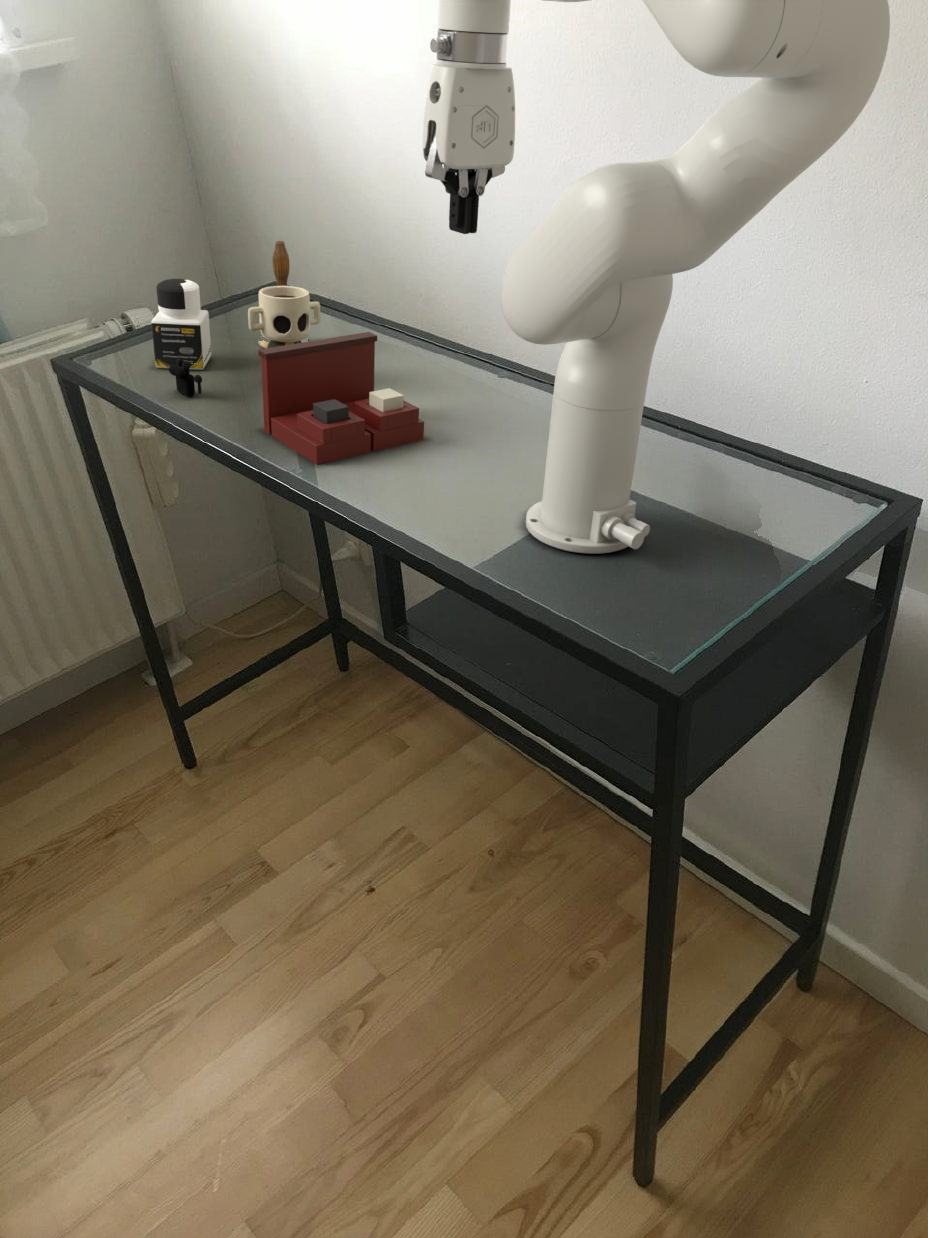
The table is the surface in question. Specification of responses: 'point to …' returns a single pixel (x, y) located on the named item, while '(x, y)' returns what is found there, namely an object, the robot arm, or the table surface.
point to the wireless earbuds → (185, 378)
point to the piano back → (316, 374)
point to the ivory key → (386, 400)
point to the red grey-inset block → (322, 436)
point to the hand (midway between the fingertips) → (462, 230)
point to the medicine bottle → (180, 325)
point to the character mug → (284, 315)
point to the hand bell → (279, 270)
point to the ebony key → (330, 411)
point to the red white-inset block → (389, 424)
